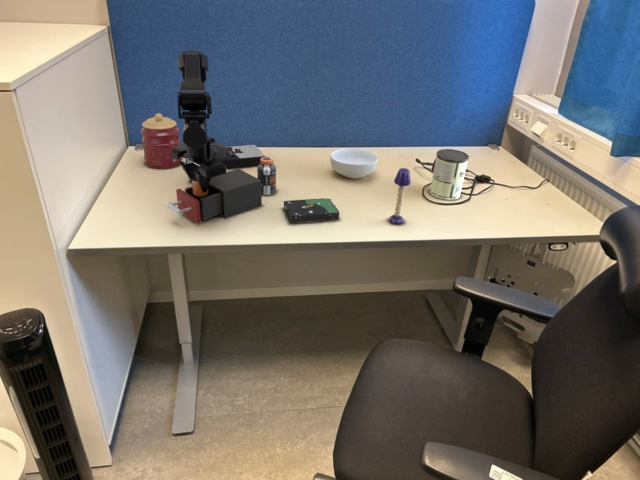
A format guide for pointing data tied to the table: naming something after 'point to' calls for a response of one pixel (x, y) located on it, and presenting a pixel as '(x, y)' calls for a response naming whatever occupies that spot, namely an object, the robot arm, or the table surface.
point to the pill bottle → (267, 175)
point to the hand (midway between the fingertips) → (200, 189)
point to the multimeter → (241, 157)
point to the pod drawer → (198, 204)
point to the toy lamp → (400, 194)
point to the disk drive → (310, 210)
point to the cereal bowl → (353, 162)
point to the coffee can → (448, 174)
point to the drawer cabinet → (238, 191)
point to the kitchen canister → (160, 141)
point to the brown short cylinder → (197, 188)
